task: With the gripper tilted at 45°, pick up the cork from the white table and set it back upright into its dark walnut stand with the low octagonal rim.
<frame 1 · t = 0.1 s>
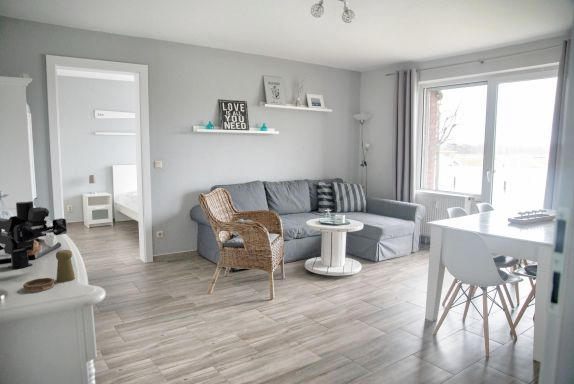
hand: (54, 232, 152), 17 cm above the table, tool horizontal, fingers open, 9 cm apart
walnut stand: (39, 287, 140), on the table
cork: (65, 280, 148), on the table
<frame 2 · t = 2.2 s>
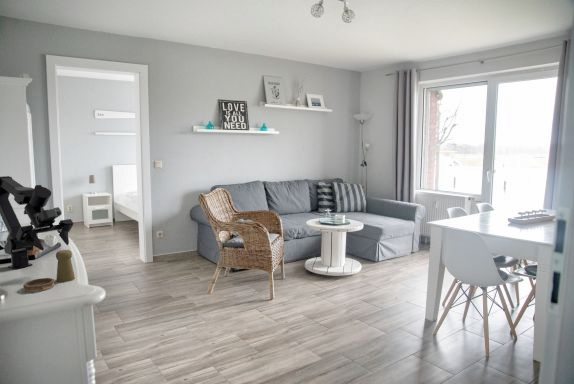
hand: (55, 246, 149), 12 cm above the table, tool tilted 45°, fingers open, 9 cm apart
nothing on the table moved.
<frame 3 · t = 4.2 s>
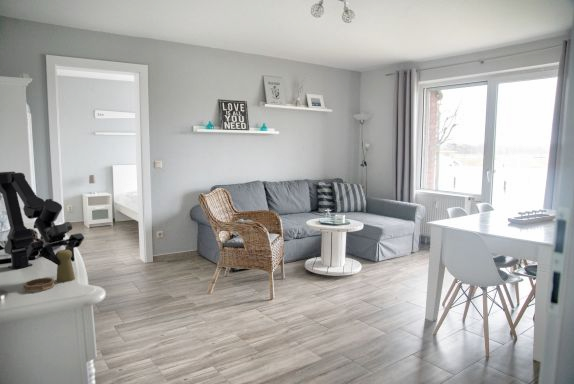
hand: (66, 262, 147), 7 cm above the table, tool tilted 45°, fingers closed on cork, 5 cm apart
cork: (65, 280, 148), on the table, touching gripper
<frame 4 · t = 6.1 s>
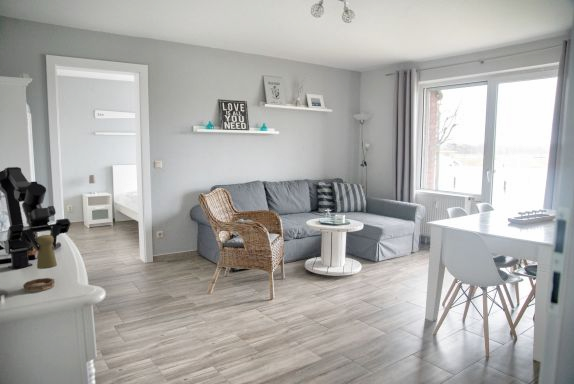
hand: (46, 248, 140), 13 cm above the table, tool tilted 45°, fingers closed on cork, 5 cm apart
cork: (47, 266, 141), point 7 cm above the table, touching gripper
when the fingers open (8 cm above the table, at t = 8.3 s): cork stays where it is, resting on walnut stand.
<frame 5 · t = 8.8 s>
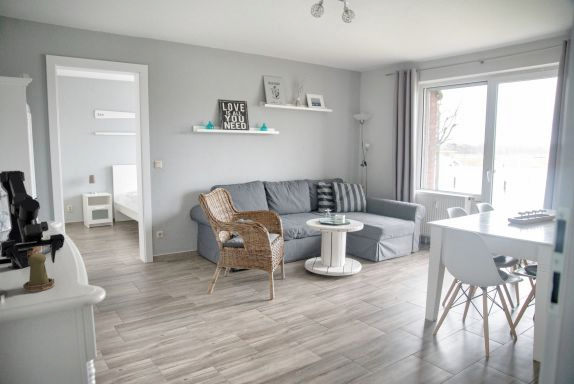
hand: (38, 265, 138), 8 cm above the table, tool tilted 45°, fingers open, 9 cm apart
cork: (39, 285, 140), point 1 cm above the table, touching walnut stand
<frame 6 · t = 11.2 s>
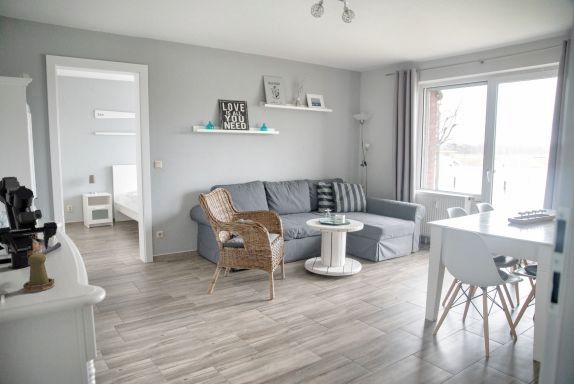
hand: (32, 250, 144), 12 cm above the table, tool tilted 45°, fingers open, 9 cm apart
nothing on the table moved.
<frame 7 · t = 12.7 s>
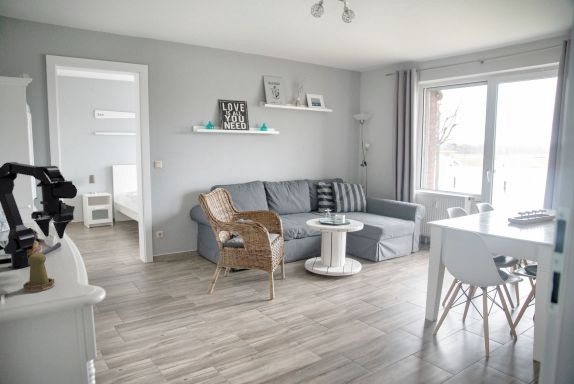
hand: (53, 237, 159), 13 cm above the table, tool pointing down, fingers open, 9 cm apart
nothing on the table moved.
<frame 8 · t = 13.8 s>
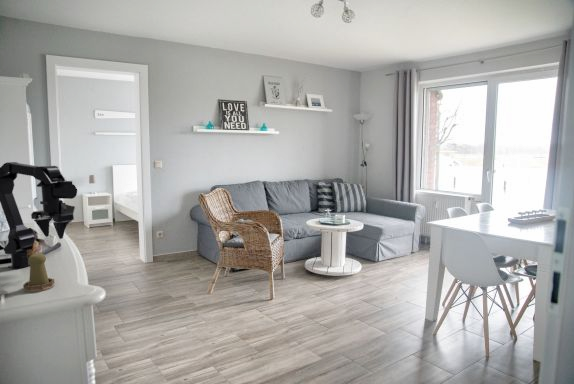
hand: (54, 237, 159), 13 cm above the table, tool pointing down, fingers open, 9 cm apart
nothing on the table moved.
at the end: cork 0.2 cm from the walnut stand (horizontally); cork tilted 0°; cork touching walnut stand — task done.
